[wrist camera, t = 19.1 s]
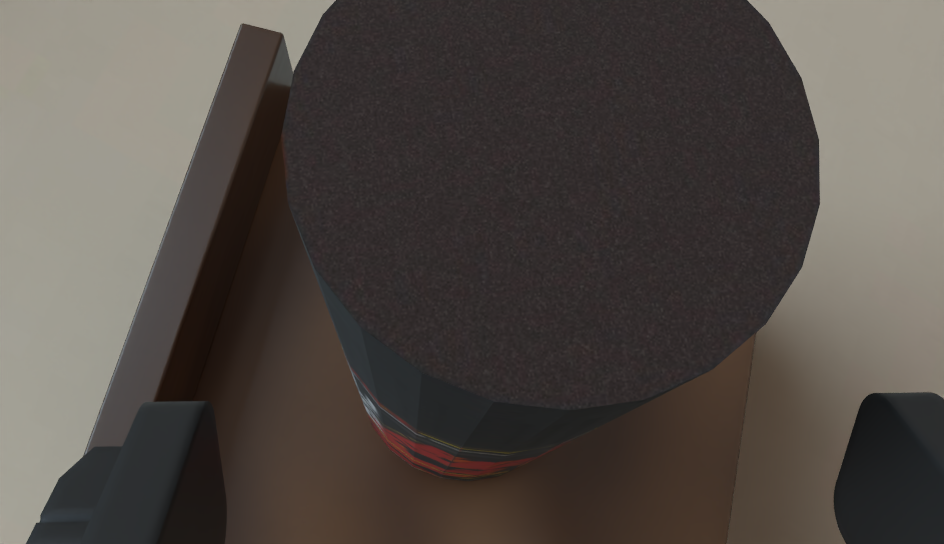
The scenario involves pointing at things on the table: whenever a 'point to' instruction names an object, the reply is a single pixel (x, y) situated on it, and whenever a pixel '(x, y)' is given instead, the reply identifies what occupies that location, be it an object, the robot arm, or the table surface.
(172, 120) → the table surface
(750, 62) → the deodorant
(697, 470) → the shelf
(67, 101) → the table surface
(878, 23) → the table surface
